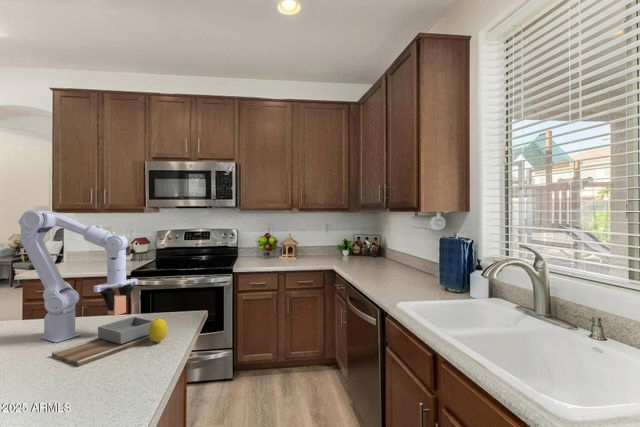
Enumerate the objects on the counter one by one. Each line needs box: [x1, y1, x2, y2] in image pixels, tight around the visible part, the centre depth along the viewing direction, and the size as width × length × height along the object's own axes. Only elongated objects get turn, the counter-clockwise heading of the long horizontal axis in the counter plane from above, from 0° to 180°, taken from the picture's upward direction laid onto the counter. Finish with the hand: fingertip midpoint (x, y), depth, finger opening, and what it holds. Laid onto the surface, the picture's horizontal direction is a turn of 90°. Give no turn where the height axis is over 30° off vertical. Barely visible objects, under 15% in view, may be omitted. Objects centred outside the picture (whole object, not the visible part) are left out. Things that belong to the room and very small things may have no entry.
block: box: [107, 293, 127, 316], centre depth 121 cm, size 4×4×6 cm
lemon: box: [149, 317, 168, 344], centre depth 114 cm, size 6×6×8 cm
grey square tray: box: [97, 315, 155, 344], centre depth 116 cm, size 12×13×4 cm
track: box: [51, 334, 152, 367], centre depth 111 cm, size 14×27×4 cm, turn 152°
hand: (117, 308), depth 121 cm, fingers closed on block, 4 cm apart
